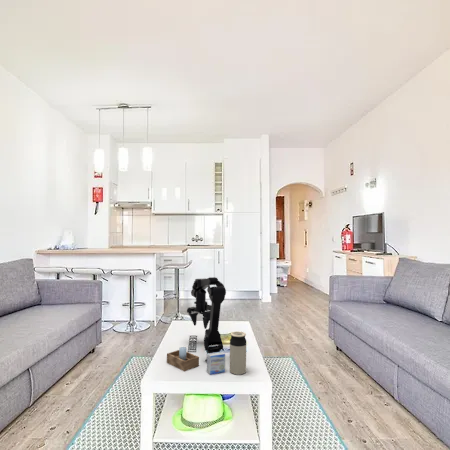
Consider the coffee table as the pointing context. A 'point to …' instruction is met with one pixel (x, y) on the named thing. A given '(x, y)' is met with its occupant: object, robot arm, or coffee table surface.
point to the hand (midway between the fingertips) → (200, 327)
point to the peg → (182, 353)
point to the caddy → (190, 361)
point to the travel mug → (238, 353)
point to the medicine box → (215, 363)
